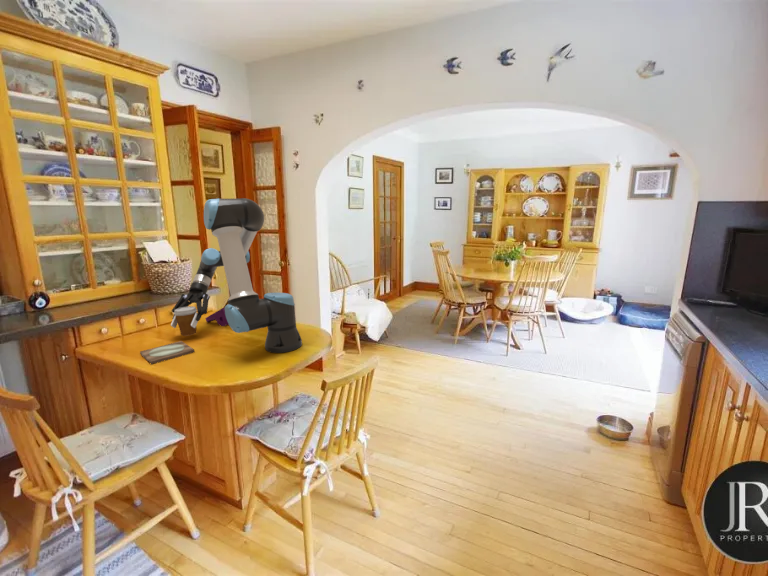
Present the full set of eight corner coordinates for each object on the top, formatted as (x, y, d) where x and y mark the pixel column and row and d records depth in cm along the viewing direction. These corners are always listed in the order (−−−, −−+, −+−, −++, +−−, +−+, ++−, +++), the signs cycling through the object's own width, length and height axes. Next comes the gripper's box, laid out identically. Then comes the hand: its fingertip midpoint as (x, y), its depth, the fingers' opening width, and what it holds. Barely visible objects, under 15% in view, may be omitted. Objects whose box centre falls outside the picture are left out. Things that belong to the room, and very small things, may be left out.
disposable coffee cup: (198, 329, 178) (195, 305, 176) (201, 334, 170) (197, 308, 168) (176, 333, 173) (172, 308, 171) (178, 338, 165) (174, 312, 163)
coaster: (194, 352, 154) (194, 349, 154) (151, 364, 143) (150, 361, 143) (181, 343, 165) (181, 340, 165) (140, 354, 154) (139, 351, 154)
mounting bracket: (208, 334, 195) (229, 323, 187) (201, 320, 195) (222, 308, 186) (222, 329, 203) (243, 318, 195) (216, 315, 203) (236, 303, 195)
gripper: (224, 289, 181) (209, 330, 169) (184, 289, 185) (166, 330, 173) (216, 281, 175) (200, 322, 163) (175, 281, 179) (156, 322, 167)
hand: (182, 326), depth 168 cm, fingers closed on disposable coffee cup, 9 cm apart
